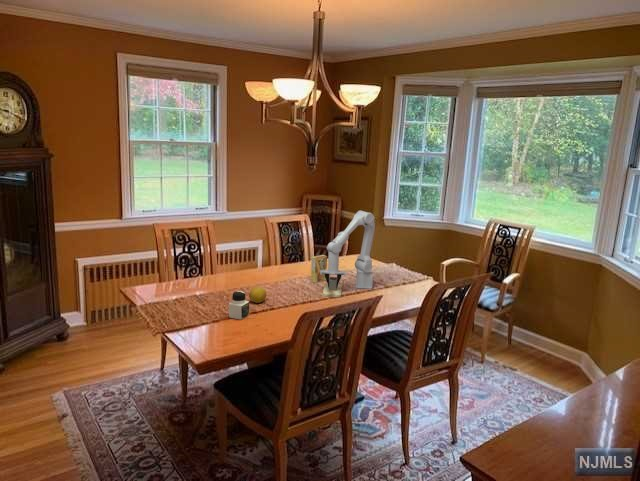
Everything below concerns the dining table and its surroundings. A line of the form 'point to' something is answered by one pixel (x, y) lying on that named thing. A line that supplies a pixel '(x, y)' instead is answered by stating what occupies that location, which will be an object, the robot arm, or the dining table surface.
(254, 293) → the fruit
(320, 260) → the candy box
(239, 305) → the medicine bottle
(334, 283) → the sanding block
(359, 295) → the dining table surface
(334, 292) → the board
